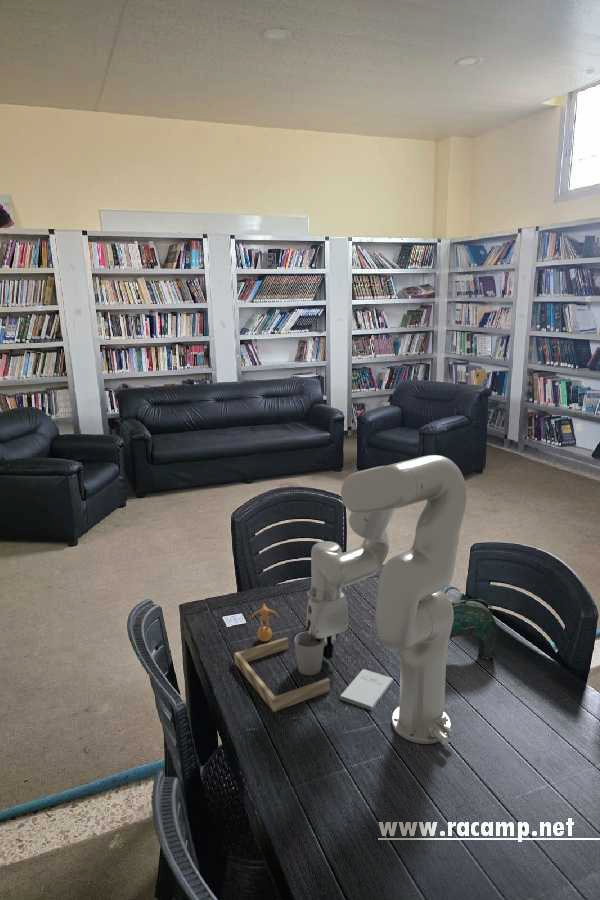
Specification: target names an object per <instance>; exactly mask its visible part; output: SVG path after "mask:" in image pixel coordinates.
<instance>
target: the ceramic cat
mask: <svg viewBox="0 0 600 900" xmlns="http://www.w3.org/2000/svg"><path fill="white" fill-rule="evenodd" d="M449 590H457V591H458V592H459V593H461V590H460V589H459V588H457V587H454V586H451V587H447V588H446V590H445V592H444V593H445V594H446V595H447V592H448V591H449ZM451 603H452V606H453V612H454V619H453V625H452V629H451V633H450V637H449V640H450V639H452V638H455V637H459V636H460V637H461V636H471V637H473V638H475V639H476V640H477V641H478V650H477V651H478V652H479V653H478V654H480V655H479V656H480V658H481V657H483V658H492V657H493V658H494V655H495V651H496V650H495V649H496V646H497V643H498V634H499V633H498V624H497V622H496V621H495V618H494V616H493V614H494V610H493V607H492V605H491V604H490V603H489V602H488V601H487V600H483V599H478V598H470V599H463V600H462V599H461V600H454V601H451ZM482 603H484V604H486V605H487V606H489V608H490V610H489V608H488V607H486V606H485V605H484V604H482ZM493 658H492V659H493Z"/></svg>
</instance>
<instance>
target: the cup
mask: <svg viewBox="0 0 600 900" xmlns="http://www.w3.org/2000/svg"><path fill="white" fill-rule="evenodd" d="M307 636H308V631H307V630H306V631H303V632H299V633H297V634H296V635H295V637H294V638H293V639H294V640H293V643H294V651H295V657H296V664H297V669H298V672H299V673H300V674H302V675H304V676H314V675H317V674H319V673H320V672H321V670H322V664H323V663H322V662H323V658H324V657H323V650H324V640H325V639H324V638H322V639H320V643H319V642H318V641H309V640H308V639H307Z"/></svg>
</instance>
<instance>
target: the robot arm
mask: <svg viewBox="0 0 600 900" xmlns="http://www.w3.org/2000/svg"><path fill="white" fill-rule="evenodd" d="M340 497H341V501H342V504H343V506H344V507H345V508H346V509H347V510H348V511H350V512H351V513H350V515H349V518H348V523H349V527H350V528H351V530H352V531H353V532H354V534H356V535H357V536H359V537H361V538H363V541H362V544H361V545H360V546H358V547H356V548H353V549H350V550H348V551H344V552H343V550H342V547H341V546H340V545H339V543H337V542H334V541H328V540H325V541H319V542H317V543H315V544H313V546H312V548H311V551H310V552H311V553H310V557H311V560H310V563H311V566H310V569H311V570H310V571H311V572H310V573H311V580H310V581H311V585H310V590H307V592H306V594H307V597H308V601H307V609H306V620H305V621H306V622H305V623H306V625H305V626H306V631H308V636H307V639H308V640H309V641H318V642H319V643H320V639H322V638H324V639H325V640H324V650H323V658H324V659H325V660H329V659H333V652H334V644H335V643H336V639H337V637H338V636H339V635H340V634H342V633H344V632H346V631H347V630H348V628H349V615H348V612H349V611H348V605H347V599H346V596H345V593H344V592H342V590H343V588H346V587H349V586H350V585H353V584H356V583H358V582H360V581H364V580H366V579H369V578H371V577H373V576H374V575H376V574H377V573H378V572H379V570H380V569H381V567H382V566H383V567H382V569H381V571H380V574H379V581H378V588H377V597H376V606H375V613H374V615H375V616H374V627H375V632H376V636H377V638H378V640H379V642H380V643H381V644H382V646H384V648H386V649H388V651H391V652H397V653H400V669H399V670H400V673H399V674H400V675H399V703H398V705H399V706H397V707H396V708H395V709H394V710H393V712H392V714H391V715H392V716H391V724H392V729H394V731H395V732H396V734H398V735H399V736H400V737H402V738H403V739H405V740H407V741H408V742H412V743H415V744H421V745H429V744H430V745H431V744H436V743H438V742H439V743H440V744H441V745H442V746H447V745H448V744H449V742H450V737H452V736H453V735H454V733H455V732H454V730H453V729H452V728H451V726H452V724H451V720H450V718H449V716H448V715H447V713H446V712H445V694H446V679H447V678H446V677H447V674H446V673H447V661H448V648H449V647H448V646H449V641H450V639H449V637H450V633H451V629H452V625H453V619H454V612H453V606H452V603H451V602H452V601H451V600H450V598H449V597H448V595H447V593H446V594H445V592H443V591H442V590H443V589H446V587H447V588H448V586H449V585H450V583H452V580H453V577H454V572H455V568H456V562H457V561H456V560H457V554H458V549H459V543H460V541H459V540H460V533H461V529H462V528H461V527H462V523H463V521H464V520H463V519H464V515H465V512H466V507H467V499H468V498H467V497H468V491H467V483H466V481H465V478H464V475H463V474H462V471H461V469H460V468H459V467H458V465H457V464H456V463H455V462H454V461H453V460H452V459H450V458H448V457H445V456H443V455H438V454H432V455H431V454H430V455H424V456H423V455H422V456H418V457H415V458H412V459H408V460H404V461H400V462H396V463H392V464H388V465H381V466H376V467H375V466H374V467H371V468H368V469H363V470H359V471H356V472H352V473H350V474H349V475H348V476H347V477H346V478H345V479H344V481H343V482H342V485H341V488H340ZM424 501H426V504H425V506H424V508H423V509H422V511H421V513H420V515H419V518H418V519H417V523H416V527H415V534H414V540H413V544H412V547H410V548H409V549H408V550H407V551H405V552H402V553H399V554H397V555H395V556H392V557H391V558H390V559H388V560H387V561H386V563H384V562H385V560H386V558H387V556H388V553H389V550H390V543H389V542H390V541H389V535H388V533H387V528H388V526H389V524H390V521H391V519H392V517H393V514H394V513H395V510H397V509H401V508H405V507H408V506H411V505H414V504H418V503H420V502H424ZM342 552H343V553H342ZM383 564H384V565H383Z"/></svg>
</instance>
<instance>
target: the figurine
mask: <svg viewBox="0 0 600 900" xmlns="http://www.w3.org/2000/svg"><path fill="white" fill-rule="evenodd" d="M269 613H272V614H275V615H276V616H277V618H279V619H281V617H280V615H279V614H278V613H277V612H276V611H275V610H273V609H270V608H268V606H267V605H266V604H265V603H263V604H262V606H261V608H260V609H258V610H257V611H255V612H253V613H252V614H251V615H250V617H249V619H248V621H250V620H251V619H252V618H253V617H254V616H255V615H257V614H260V615H261V616H259V618H258V619H259V622H260V623H259V624H260V627H259V628H258V630H257V633H256V634H257V635H256V636H257V638H258V640H260V642H266V643H267V642H268V641H270V640H271V639H272V636H273V631H272V629H271V628H270V627H269V625H270V622H269V621H270V616H269V615H268V614H269ZM263 621H266V624H265V625H266V626H265V625H264V623H263ZM263 625H264V626H263Z"/></svg>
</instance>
